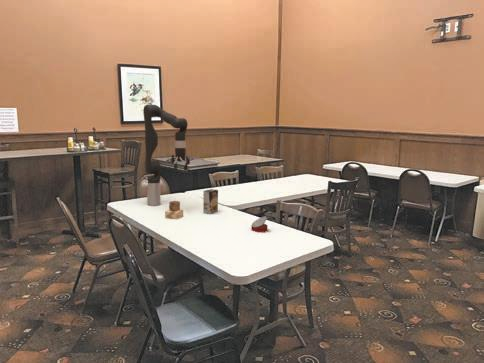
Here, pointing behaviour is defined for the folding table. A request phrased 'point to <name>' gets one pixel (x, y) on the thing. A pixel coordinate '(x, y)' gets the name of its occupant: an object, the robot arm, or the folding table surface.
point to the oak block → (173, 214)
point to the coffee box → (210, 201)
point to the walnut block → (174, 206)
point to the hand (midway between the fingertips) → (180, 169)
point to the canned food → (259, 225)
